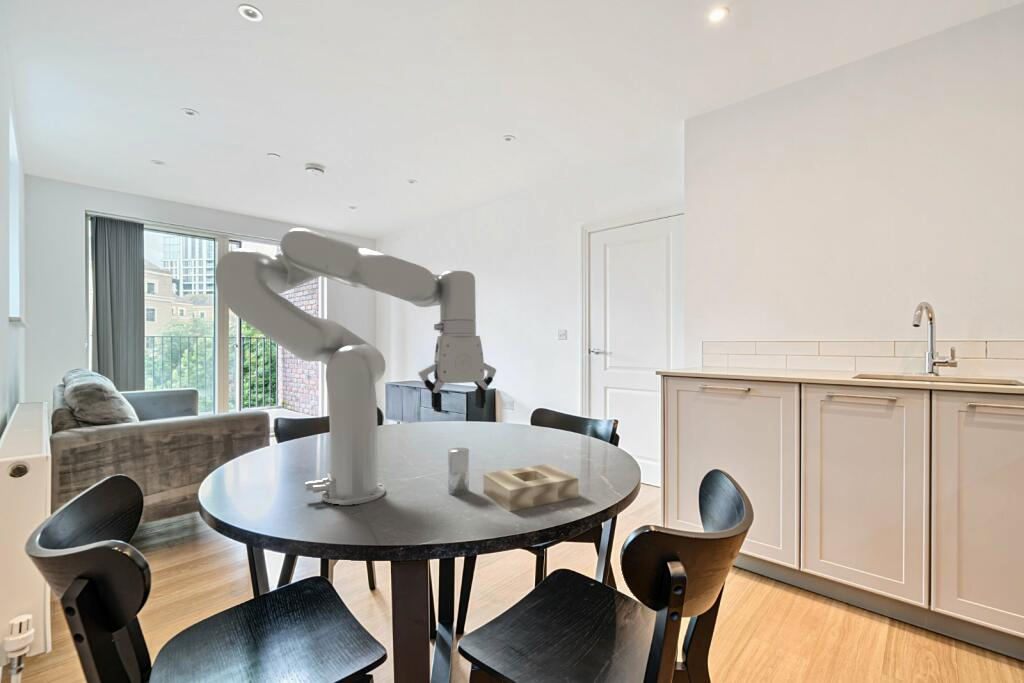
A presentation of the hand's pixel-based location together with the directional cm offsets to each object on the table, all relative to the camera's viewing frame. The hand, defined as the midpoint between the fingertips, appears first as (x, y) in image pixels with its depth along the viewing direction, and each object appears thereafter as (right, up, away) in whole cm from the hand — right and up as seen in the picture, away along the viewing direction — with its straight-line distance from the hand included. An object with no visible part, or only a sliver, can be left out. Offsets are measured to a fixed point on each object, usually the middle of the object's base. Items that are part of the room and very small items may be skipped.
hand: (459, 409), depth 96 cm
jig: (+15, -18, -2) cm, 23 cm away
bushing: (0, -18, 0) cm, 18 cm away
